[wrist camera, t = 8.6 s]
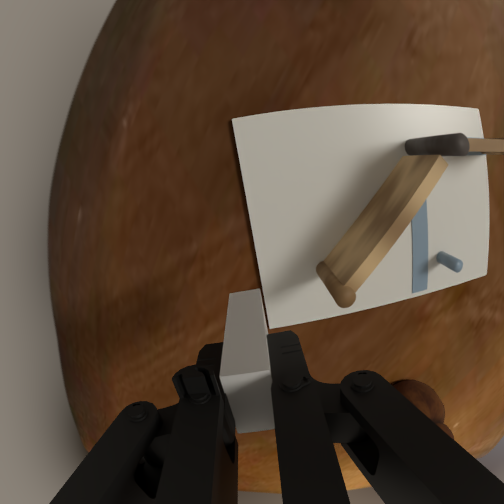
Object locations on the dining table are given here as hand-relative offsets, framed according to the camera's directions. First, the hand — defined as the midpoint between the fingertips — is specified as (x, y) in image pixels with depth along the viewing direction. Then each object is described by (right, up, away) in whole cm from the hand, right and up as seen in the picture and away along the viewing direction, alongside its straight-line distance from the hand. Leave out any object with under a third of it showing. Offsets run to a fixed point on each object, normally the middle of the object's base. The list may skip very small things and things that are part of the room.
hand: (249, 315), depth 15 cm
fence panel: (+9, +6, +8) cm, 14 cm away
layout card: (+12, +7, +9) cm, 17 cm away
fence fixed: (+19, +13, +7) cm, 24 cm away
